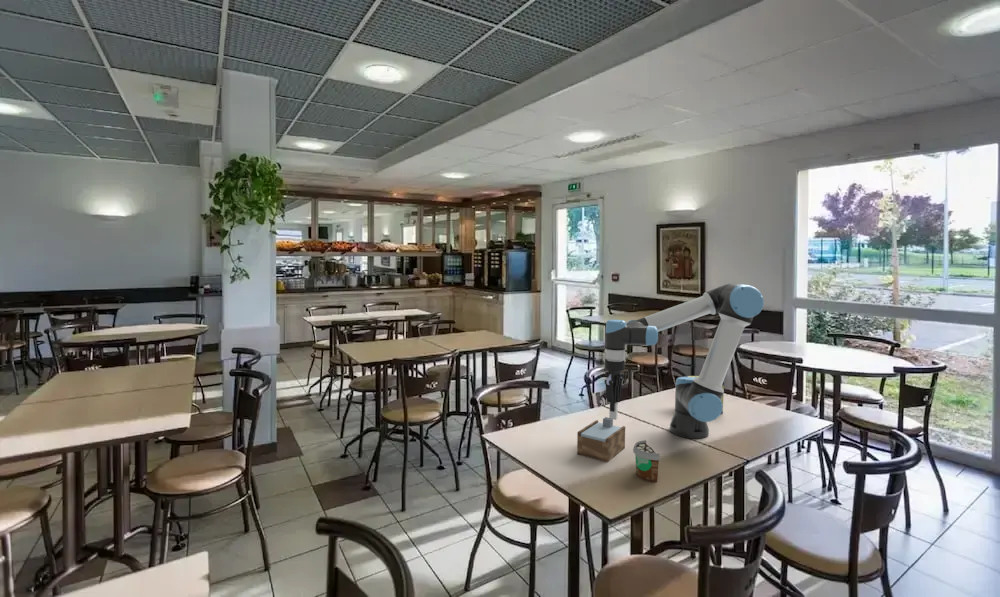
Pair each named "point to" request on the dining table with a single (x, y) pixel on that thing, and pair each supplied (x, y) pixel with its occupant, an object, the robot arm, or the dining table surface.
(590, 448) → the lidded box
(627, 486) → the dining table surface
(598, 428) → the cover plate
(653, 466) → the food container
